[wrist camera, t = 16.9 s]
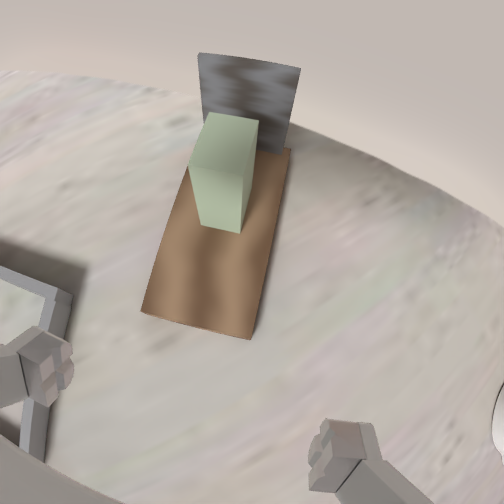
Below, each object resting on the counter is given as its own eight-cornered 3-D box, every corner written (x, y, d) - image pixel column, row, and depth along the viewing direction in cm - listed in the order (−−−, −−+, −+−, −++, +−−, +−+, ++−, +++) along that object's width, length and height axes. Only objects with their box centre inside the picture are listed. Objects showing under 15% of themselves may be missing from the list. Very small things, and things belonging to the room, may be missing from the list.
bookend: (288, 157, 42) (312, 66, 27) (250, 340, 34) (262, 325, 19) (202, 140, 42) (192, 48, 27) (145, 313, 34) (84, 278, 19)
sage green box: (251, 188, 38) (258, 120, 26) (240, 233, 36) (243, 175, 24) (214, 180, 38) (209, 111, 27) (200, 225, 36) (187, 165, 25)
